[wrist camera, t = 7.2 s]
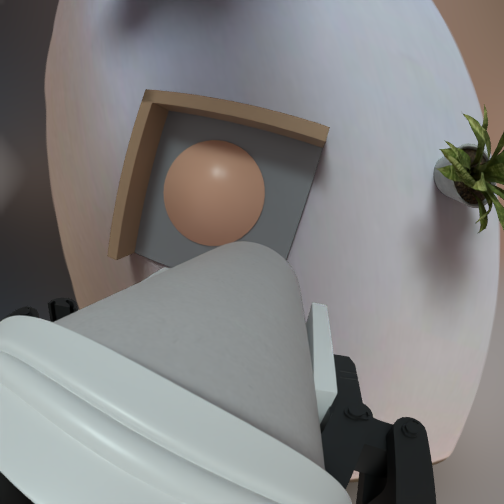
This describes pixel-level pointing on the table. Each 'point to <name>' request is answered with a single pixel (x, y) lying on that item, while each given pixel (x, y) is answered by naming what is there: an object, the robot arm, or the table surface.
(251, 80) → the table surface
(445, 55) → the table surface
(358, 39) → the table surface
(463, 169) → the house plant
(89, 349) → the coffee cup
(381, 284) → the table surface
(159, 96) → the tray
